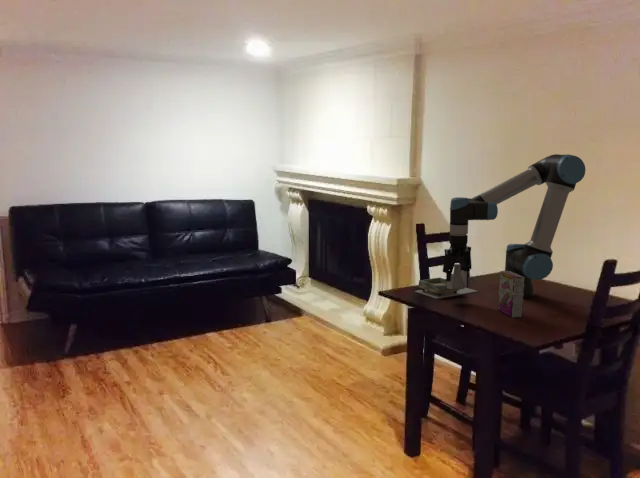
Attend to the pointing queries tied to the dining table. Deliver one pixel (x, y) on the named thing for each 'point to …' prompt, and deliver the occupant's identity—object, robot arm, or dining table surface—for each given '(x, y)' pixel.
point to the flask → (457, 278)
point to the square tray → (436, 285)
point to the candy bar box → (511, 294)
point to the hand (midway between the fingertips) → (456, 287)
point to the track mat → (447, 294)
